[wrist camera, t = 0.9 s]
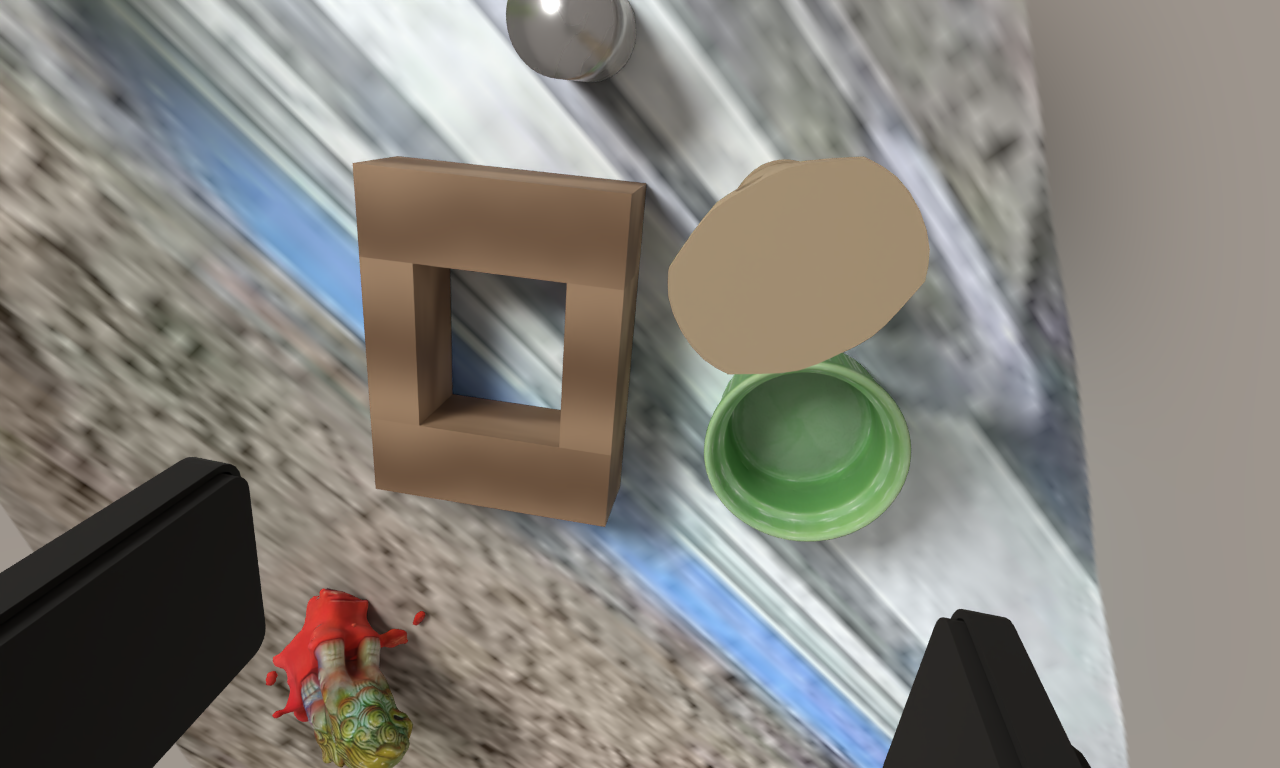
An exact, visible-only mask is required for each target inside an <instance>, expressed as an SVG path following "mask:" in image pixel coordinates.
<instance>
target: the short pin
mask: <svg viewBox="0 0 1280 768" xmlns="http://www.w3.org/2000/svg"><path fill="white" fill-rule="evenodd" d="M506 22H507V29H508V33H509V37H510V40H511V42H512V45H513V47H514V48H515V50H516V52H517V53H518V55H519V56H520V58H521V59H522V60H523V61H524V62H525V63H526V64H527V65H528V66H529V67H530V68H531V69H533V70H534V71H536V72H537V73H540V74H542V75H544V76H547V77H550V78H556V79H564V80H573V81H582V82H599V81H603V80H606V79H608V78H610V77H612V76H613V75H615V74H616V73H618V72H619V71H620V70H621V69H622V68H623V67H624V66H625V64H626V63H627V61H628V60H629V58H630V56H631V54H632V51H633V49H634V45H635V40H636V21H635V17H634V13H633V10H632V7H631V5H630V3H629V1H628V0H508V1H507V8H506Z"/></svg>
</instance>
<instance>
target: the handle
mask: <svg viewBox="0 0 1280 768" xmlns="http://www.w3.org/2000/svg"><path fill="white" fill-rule="evenodd" d="M929 250H930V249H929V243H928V236H927V230H926V227H925V224H924V221H923V218H922V216H921V213H920V210H919V208H918V206H917V205H916V203H915V201H914V199H913V197H912V196H911V194H910V192H909V191H908V190H907V188H906V187H905V186H904V185H903V184H902V182H901V181H900V180H899V179H898V178H897V177H896V176H895V175H894V174H892V173H891V172H890V171H888V170H887V169H886V168H884V167H883V166H881V165H879V164H877V163H875V162H873V161H871V160H870V159H868V158H866V157H846V158H831V159H819V160H809V161H802V162H800V161H794V160H775V161H772V162H768V163H765V164H763V165H761V166H760V167H758V168H757V169H755V170H754V171H753V172H751V173H750V174H749V175H748V176H747V177H746V178H745V179H744V181H743V182H742V183H741V184H740V186H739V187H738V189H736V190H735V191H733V192H731V193H730V194H728V195H727V196H725V197H724V198H722V199H721V200H719V201H718V202H717V203H716V204H715V205H714V206H713V207H712V209H711V210H710V211H709V212H708V213H707V215H706V216H705V217H704V218H703V219H702V221H701V222H700V223H699V225H698V226H697V227H696V229H695V230H694V231H693V233H692V234H691V236H690V237H689V238H688V240H687V241H686V243H685V244H684V245H683V247H682V248H681V250H680V251H679V253H678V254H677V256H676V257H675V259H674V260H673V262H672V263H671V265H670V267H669V270H668V297H669V301H670V305H671V308H672V312H673V315H674V317H675V319H676V321H677V323H678V325H679V328H680V330H681V332H682V333H683V335H684V336H685V338H686V339H687V341H688V342H689V343H690V345H691V346H692V348H693V349H694V350H695V351H696V352H697V353H698V354H699V355H700V356H701V357H702V358H703V359H704V360H705V361H707V362H708V363H710V364H711V365H713V366H714V367H715V368H717V369H719V370H721V371H723V372H725V373H727V374H772V373H785V372H792V371H799V370H802V369H805V368H808V367H810V366H813V365H816V364H819V363H821V362H823V361H825V360H827V359H829V358H832V357H834V356H836V355H838V354H840V353H843V352H845V351H847V350H849V349H851V348H853V347H855V346H857V345H859V344H860V343H862V342H864V341H866V340H867V339H869V338H871V337H872V336H873V335H874V334H876V333H877V332H878V331H879V330H880V329H881V328H882V327H884V326H885V325H886V324H887V323H888V322H889V321H890V320H891V319H892V318H893V316H894V315H895V314H896V313H897V312H898V311H899V310H900V309H901V308H902V307H903V306H904V304H905V303H906V302H907V301H908V300H909V299H910V298H911V296H912V295H913V294H914V293H915V292H916V291H917V290H918V289H919V287H920V286H921V285H922V284H923V283H924V282H925V278H926V274H927V269H928V263H929Z"/></svg>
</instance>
